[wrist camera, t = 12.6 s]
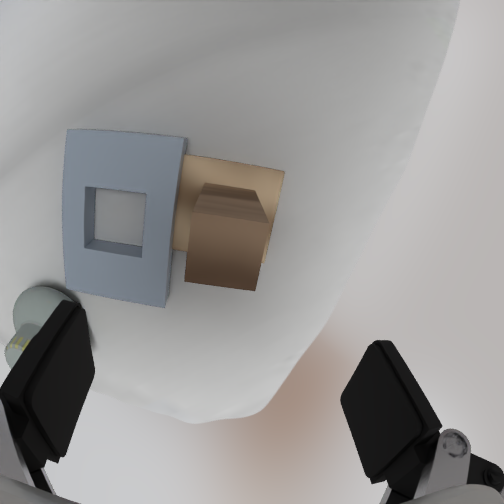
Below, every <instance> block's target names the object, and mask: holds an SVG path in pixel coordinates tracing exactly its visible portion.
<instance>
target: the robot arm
mask: <svg viewBox="0 0 504 504" xmlns="http://www.w3.org/2000/svg"><path fill="white" fill-rule="evenodd" d="M94 375H95V366H94V361H93V356H92V350H91V345H90V339H89V332H88V326H87V318H86V312H85V309H82V308H81V305H80V304H79V303H77V302H73V301H68V300H62V301H61V302H60V303H59V304H58V306H57V307H56V308H55V310H54V311H53V312H52V314H51V315H50V317H49V318H48V319H47V321H46V322H45V323H44V325H43V326H42V328H41V329H40V331H39V332H38V333H37V334H36V335H35V336H34V337H33V338H32V339H31V341H30V342H29V343H28V345H27V346H26V348H25V349H24V351H23V352H22V354H21V355H20V357H19V358H18V360H17V362H16V363H15V365H14V366H13V368H12V369H11V371H10V373H9V374H8V376H7V378H6V379H5V381H4V382H3V384H2V386H1V388H0V504H79V503H77V502H73V501H70V500H67V499H65V498H62V497H59V496H57V495H56V493H55V491H54V489H53V487H52V485H51V483H50V481H49V479H48V477H47V474H46V472H45V470H44V468H43V467H44V466H45V463H46V460H47V459H48V460H50V461H53V462H56V463H58V462H59V459H60V457H64V456H65V455H66V452H67V449H68V446H69V444H70V440H71V437H72V434H73V432H74V429H75V426H76V423H77V420H78V417H79V415H80V412H81V409H82V407H83V404H84V401H85V399H86V396H87V393H88V391H89V388H90V386H91V383H92V381H93V378H94ZM340 401H341V405H342V408H343V411H344V414H345V417H346V419H347V422H348V425H349V428H350V431H351V433H352V437H353V439H354V442H355V445H356V448H357V451H358V454H359V457H360V460H361V463H362V466H363V469H364V472H365V474H366V476H367V477H368V478H370V480H371V484H375V483H379V482H383V481H385V480H387V482H388V486H387V488H386V491H385V493H384V495H383V497H382V500H381V502H380V504H504V474H503V471H502V470H501V468H499V466H497V465H496V464H494V463H491V462H489V461H487V460H485V459H483V458H480V457H478V456H476V455H474V454H472V453H471V445H470V443H469V440H468V439H467V437H466V436H465V435H464V434H463V433H462V432H460V431H458V430H456V429H446V430H444V431H443V432H442V433H441V434H440V432H439V430H440V428H441V427H442V424H441V423H440V421H439V419H438V417H437V415H436V414H435V412H434V410H433V408H432V407H431V405H430V403H429V401H428V400H427V398H426V396H425V395H424V393H423V391H422V389H421V388H420V386H419V384H418V383H417V381H416V379H415V378H414V376H413V375H412V373H411V371H410V370H409V368H408V366H407V365H406V363H405V362H404V360H403V358H402V357H401V355H400V354H399V352H398V350H397V349H396V347H395V346H394V344H393V343H392V342H391V341H388V340H376V341H374V342H373V343H372V344H371V345H369V346H368V348H367V350H366V352H365V354H364V355H363V358H362V359H361V361H360V363H359V365H358V367H357V368H356V370H355V372H354V374H353V375H352V377H351V379H350V381H349V382H348V384H347V386H346V388H345V389H344V391H343V393H342V395H341V399H340Z"/></svg>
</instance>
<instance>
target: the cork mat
mask: <svg viewBox="0 0 504 504" xmlns="http://www.w3.org/2000/svg"><path fill="white" fill-rule="evenodd" d="M284 173H285V172H284V171H280V170H275V169H270V168H265V167H260V166H254V165H249V164H243V163H238V162H232V161H226V160H220V159H214V158H207V157H201V156H194V155H187V154H185V155H184V160H183V166H182V172H181V179H180V186H179V193H178V201H177V208H176V216H175V225H174V234H173V243H172V249H173V250H180V251H186V252H187V251H188V242H189V234H190V226H191V218H192V211H193V209H194V207H195V204H196V202H197V200H198V197H199V195H200V193H201V191H202V188H203V186H204V184H205V183H211V184H218V185H225V186H231V187H237V188H244V189H250V190H255V191H256V194H257V196H258V198H259V200H260V203H261V205H262V207H263V209H264V212H265V214H266V216H267V218H268V221H269V223H270V225H269V230H268V235H267V239H266V244H265V248H264V253H263V258H262V262H261V263H264V261H265V257H266V253H267V248H268V244H269V240H270V235H271V231H272V227H273V222H274V218H275V214H276V209H277V205H278V200H279V196H280V191H281V187H282V182H283V178H284Z"/></svg>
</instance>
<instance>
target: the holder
mask: <svg viewBox="0 0 504 504" xmlns="http://www.w3.org/2000/svg"><path fill="white" fill-rule="evenodd" d="M187 141H188V138H184V137H176V136H168V135H159V134H149V133H139V132H127V131H113V130H96V129H68V130H67V135H66V145H65V156H64V170H63V192H62V231H63V253H64V268H65V279H66V288H67V289H70V290H74V291H79V292H83V293H88V294H93V295H98V296H102V297H107V298H112V299H117V300H123V301H128V302H133V303H139V304H144V305H150V306H156V307H162V308H165V305H166V302H167V299H168V296H169V284H170V272H171V261H172V251H173V249H172V243H173V234H174V225H175V216H176V208H177V201H178V193H179V186H180V179H181V172H182V166H183V160H184V155H185V153H186V147H187ZM96 187H97V188H105V189H114V190H122V191H130V192H137V193H145V194H147V196H146V206H145V217H144V230H143V244H142V247H140V246H133V245H127V244H121V243H115V242H109V241H102V240H96V239H94V210H95V189H96Z"/></svg>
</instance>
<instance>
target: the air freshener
mask: <svg viewBox="0 0 504 504" xmlns="http://www.w3.org/2000/svg"><path fill="white" fill-rule="evenodd" d="M62 300H68V301H72V300H71V299H70V298H69V297H68V296H66V295H65V294H63V293H62V292H60V291H58V290H56V289H53V288H50V287H44V286H37V287H32V288H29V289H27V290H25V291H24V292H22V294H21V295H20V296H19V297H18V298H17V300H16V302H15V305H14V309H13V322H14V327H15V330H16V334H15V335H14V337H13V338H12V339H11V341H10V342H9V343H8V345H7V346H6V348H5V357H6V361H7V363H8V365H9V367H10V368H11V369H12V368H13V366H14V365H15V363H16V362H17V360H18V358H19V357H20V355H21V354H22V352H23V351H24V349H25V348H26V346H27V345H28V343H29V342H30V341H31V339H32V338H33V337H34V336H35V335H36V334H37V333H38V332H39V331H40V329H41V328H42V326H43V325H44V323H45V322H46V321H47V319H48V318H49V317H50V315H51V314H52V312H53V311H54V310H55V308H56V307H57V306H58V304H59V303H60V302H61V301H62ZM89 339H90V338H89Z"/></svg>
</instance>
